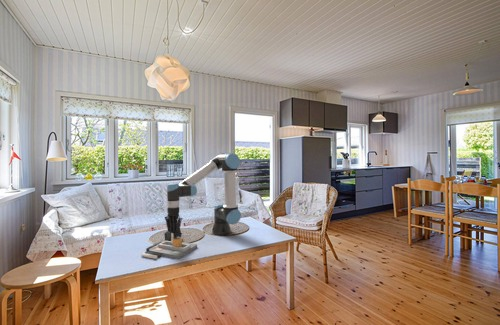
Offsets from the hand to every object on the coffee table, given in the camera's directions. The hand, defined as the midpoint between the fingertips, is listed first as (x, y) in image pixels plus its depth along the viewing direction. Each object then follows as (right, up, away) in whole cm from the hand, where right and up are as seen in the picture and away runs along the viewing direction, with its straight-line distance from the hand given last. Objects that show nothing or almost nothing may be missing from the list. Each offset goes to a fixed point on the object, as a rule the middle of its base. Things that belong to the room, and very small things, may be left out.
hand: (173, 242), depth 158 cm
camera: (-6, -5, +20) cm, 22 cm away
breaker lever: (+3, -3, -1) cm, 4 cm away
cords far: (-11, -6, -10) cm, 16 cm away
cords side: (-13, -5, +4) cm, 15 cm away
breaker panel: (+1, -5, 0) cm, 5 cm away
